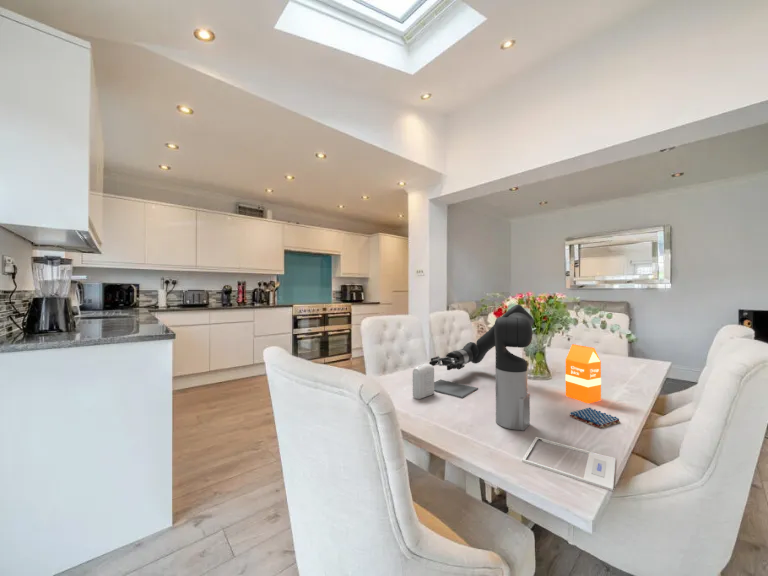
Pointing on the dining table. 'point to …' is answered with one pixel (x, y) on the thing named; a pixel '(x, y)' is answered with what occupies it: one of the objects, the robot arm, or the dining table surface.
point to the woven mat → (594, 418)
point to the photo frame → (596, 470)
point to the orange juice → (583, 374)
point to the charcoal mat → (453, 388)
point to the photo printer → (423, 381)
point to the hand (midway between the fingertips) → (438, 366)
